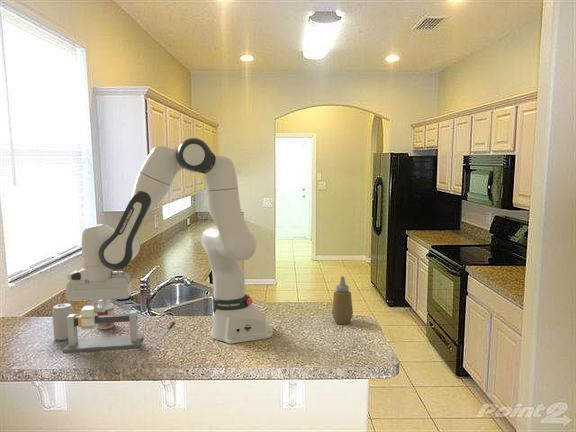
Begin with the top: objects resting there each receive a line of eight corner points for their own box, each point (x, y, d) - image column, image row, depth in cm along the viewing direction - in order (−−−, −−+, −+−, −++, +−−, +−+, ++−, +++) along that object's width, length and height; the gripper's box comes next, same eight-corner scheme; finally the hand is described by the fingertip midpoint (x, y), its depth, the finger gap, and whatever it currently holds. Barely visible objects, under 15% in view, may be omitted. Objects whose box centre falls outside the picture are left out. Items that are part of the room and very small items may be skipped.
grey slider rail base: (143, 337, 156) (141, 307, 155) (138, 347, 147) (136, 315, 146) (72, 341, 152) (69, 311, 151) (62, 352, 143) (60, 320, 142)
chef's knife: (149, 344, 151) (158, 343, 151) (149, 341, 151) (157, 340, 151) (168, 324, 170) (175, 323, 170) (167, 321, 170) (175, 321, 170)
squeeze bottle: (329, 324, 166) (329, 278, 164) (335, 317, 173) (335, 273, 171) (349, 327, 163) (349, 280, 161) (355, 320, 170) (355, 275, 168)
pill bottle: (93, 328, 165) (91, 300, 164) (105, 323, 171) (104, 295, 170) (106, 330, 163) (104, 301, 162) (118, 325, 168) (116, 297, 167)
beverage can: (69, 333, 161) (67, 301, 159) (77, 337, 157) (75, 304, 155) (51, 338, 156) (48, 305, 154) (59, 342, 152) (56, 309, 150)
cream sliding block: (98, 324, 151) (97, 305, 150) (94, 329, 146) (93, 309, 146) (86, 325, 150) (84, 306, 150) (81, 330, 146) (80, 310, 145)
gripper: (131, 268, 151) (133, 307, 153) (69, 271, 148) (71, 310, 150) (127, 273, 145) (129, 313, 147) (62, 275, 142) (65, 316, 144)
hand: (100, 312), depth 148 cm, fingers closed
